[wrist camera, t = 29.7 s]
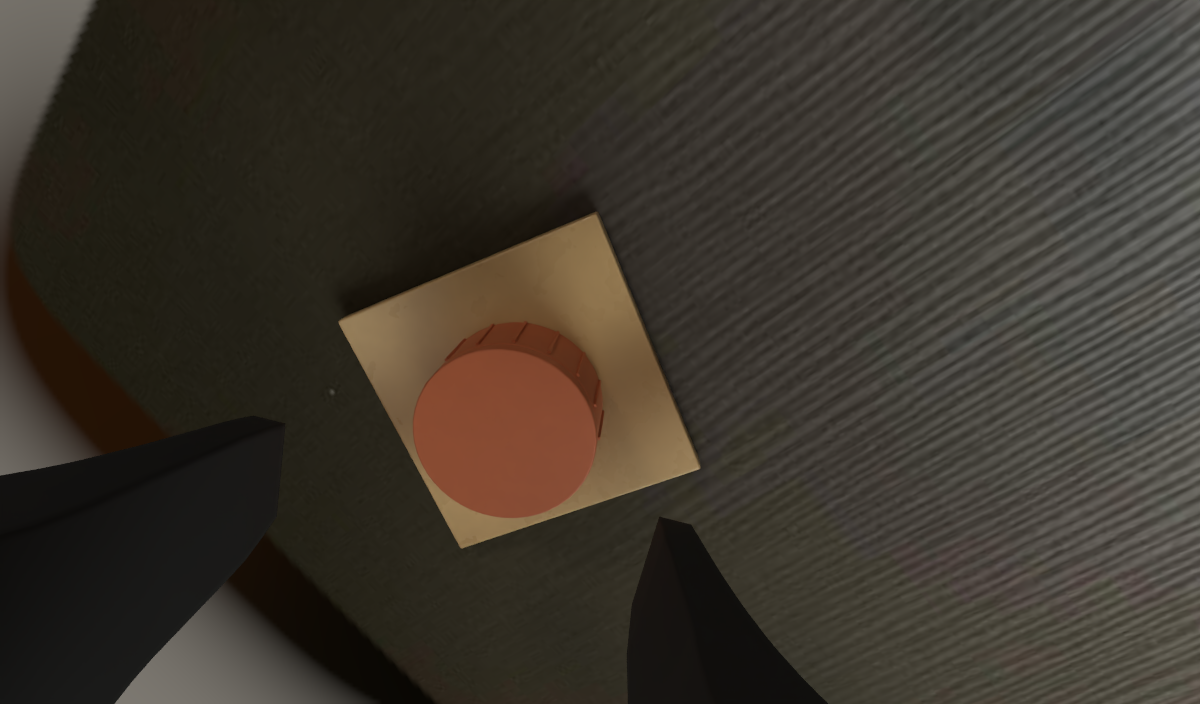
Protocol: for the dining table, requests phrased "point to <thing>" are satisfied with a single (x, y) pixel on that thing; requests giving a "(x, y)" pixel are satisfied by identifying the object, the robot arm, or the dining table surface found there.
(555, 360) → the flask cap
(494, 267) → the coaster
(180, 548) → the robot arm
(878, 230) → the dining table surface
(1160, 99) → the dining table surface
